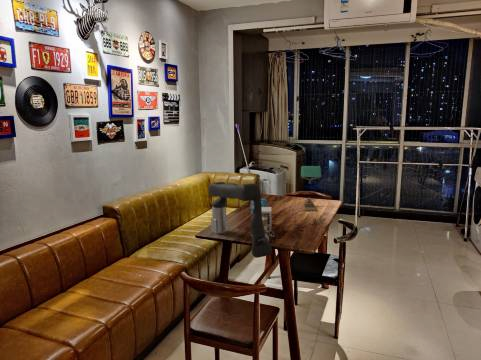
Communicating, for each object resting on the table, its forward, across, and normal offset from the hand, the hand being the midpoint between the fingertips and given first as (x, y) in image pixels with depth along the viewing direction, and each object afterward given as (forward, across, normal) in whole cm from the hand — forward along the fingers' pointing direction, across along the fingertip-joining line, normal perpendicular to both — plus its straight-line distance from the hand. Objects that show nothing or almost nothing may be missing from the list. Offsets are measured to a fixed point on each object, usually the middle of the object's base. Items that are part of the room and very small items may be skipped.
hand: (262, 230), depth 218 cm
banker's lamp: (+78, -37, +7) cm, 86 cm away
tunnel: (+20, 0, +6) cm, 21 cm away
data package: (+59, +4, +7) cm, 60 cm away
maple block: (+14, 0, +7) cm, 16 cm away
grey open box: (+30, 0, +6) cm, 31 cm away
